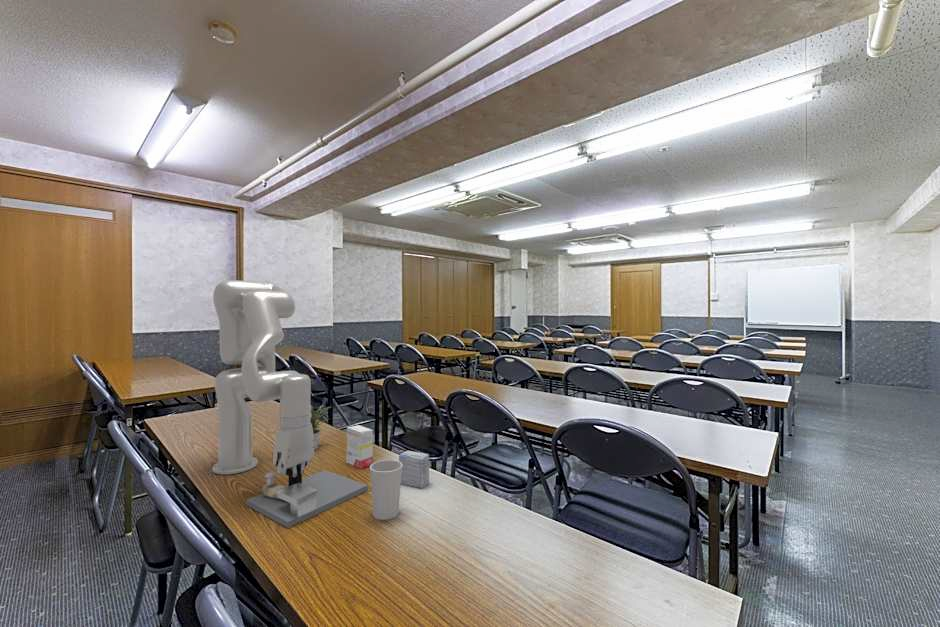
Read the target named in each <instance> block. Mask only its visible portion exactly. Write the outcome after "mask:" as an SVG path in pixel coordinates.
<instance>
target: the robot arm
mask: <svg viewBox="0 0 940 627" xmlns="http://www.w3.org/2000/svg"><path fill="white" fill-rule="evenodd" d="M212 297H213V300H212V301H213V305H214V309H215V312H216V315H217V318H218V325H219V355H220V359H221V361H222V363H224V364H226V365H241V367H239V368H232V369H227V370H223V371H221V372H220V373H218V374H217V375H216V377H215V379H214V390H215V394H216V396H215V397H216V402H217V421H218V422H217V427H218V429H217V433H218V434H217V438H218V439H217V462H216V463H215V464H214V465H213V466H211V467H212V468H211V469H212V473H214V474H215V475H226V476H227V475H234V474H241V473H245V472H246V471H249V470H252V469H254V468H255V467H256V466H257V465H258V463H259V462H258V461H259V460H258V459H257V458H256V457H254V456H253V409H252V407H251V405H250V404H249V403H247V402H246V400H245V398H249V399H250V400H251V401H252V402H254V403H263V402H270V401H275V400H279V428H277V430H276V433H275V438H274V444H273V454H272V455H273V456H272V459H273V460H272V465H273V466H274V467H277V468H276V474H278V475H286V476H288V484H289V486H292V485H294V484H297V483H302V479H303V474H304V472H305V469H306V467H307V465H308V464H309V463H311V462H312V461H313V457H314V454H315V450H314V434H313V428H312V424H311V423H310V417H312V413H310V412H311V406H312V404H311V395H312V394H311V390H312V389H311V386H312V385H311V383H312V382H311V378H310V376H309V375H307V374H304V373H299V372H298V371H296V370H280V371H276V347H275V346H277V345H278V344H279V343H281V342H282V341H283V339H284V338H285V337H284V336H285V335H284V330H283V327H282V323H281V321H280V319H289V318H291V317H292V316H293V315H294V313H295V311H296V310H295V309H296V304H295V300H294V298H293V295H291V294H290V292H289V291H287V290H286V289H284V288H282V287H280V286H279V285H277V284H275V283H273V282H267V281H253V280H237V279H235V280H233V279H232V280H225V281H224V280H223V281H220V282H219V283H218V284H216V285H215V287H214V291H213V296H212Z"/></svg>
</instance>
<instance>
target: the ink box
mask: <svg viewBox="0 0 940 627" xmlns="http://www.w3.org/2000/svg"><path fill="white" fill-rule="evenodd" d="M373 442H374V430H373V429H371V428H368V427H365V426H363V425H359V424H358V425H353V426H347V427H346V455H345V456H346V459H345V460H346V461H345V462H346V463H347V464H348V463H349V465H350V466H354V467H357V468H358V469H364V468H367V467H370V465H371V464H373V463H374V462H373V460H374V459H373V458H374V457H373V454H374V450H373V449H374V448H373V447H374V443H373Z"/></svg>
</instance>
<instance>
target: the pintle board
mask: <svg viewBox="0 0 940 627" xmlns="http://www.w3.org/2000/svg"><path fill="white" fill-rule="evenodd" d="M275 477H276V472H272V471H271V472H268V473H265V475H264V478H265V479H266V484H267V486H271V485H273V484H274V483H275V482H274V481H275V480H274V478H275ZM302 484H304V485H306V486H309V487H311V488H313V489H316V490H318V497H316V509H315V510H313V511H311V512H308V513H306V514H304V515H302V516H300V517H296V516H294V515H292V514H291V503H289V502H287V501H284V500H281V499H277V498H273V497H269V496H263V493H260V494H258V495H255V496H252V497H249V498H247V499H245V505H247V506H246V507H248V506H249V507H248V508H250V507H251V508H250V509H252V508H253V509H254V511H255V510H256V511H255V512H257V511H258V512H257V513H259V512H260V513H259V514H261V515H263V516H264V515H265V517H266V518H268V519H270V520H272V521H274V522H276V523H277V524H280V525H281V526H283V527H285V528H287V529H290V528H291V526H292V527H294V526H296V525H298V524H301V523H302V522H304V520H305V521H306V519H307V520H308V519H311V518H313V517H316V516H317V515H319V514H321V513H324V512H326V511H328V510H330V509H332V508H334V507H336V506H338V505H341V504H343V503H345V502H347V501H349V500H351V499H354V498H355V497H357V496H359V494H360V495H362V494H364V493H366V492H368V490H369V485H368V484H366V483H362V482H360V481H357V480H355V479H352V478H349V477H346V476H343V475H340V474H338V473H335V472H334V471H333V472H332V471H330V470H327V469H324V470H322V471H319V472H316V473H314V474H311V475H308V476H305V477H304V478H303V477H302ZM283 486H288V487H289V483H287V484H285V485H284V484H283ZM363 492H364V493H363ZM361 493H362V494H361ZM253 509H252V510H253ZM301 521H302V522H301ZM297 523H298V524H297ZM295 524H296V525H295ZM293 525H294V526H293ZM289 527H290V528H289Z"/></svg>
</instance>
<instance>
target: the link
mask: <svg viewBox="0 0 940 627" xmlns="http://www.w3.org/2000/svg"><path fill="white" fill-rule="evenodd" d="M286 487H288V486H284V484H283V485H282V484H278V483H276V482H274V484H273V485H271V486H267V483H265V484H263V485H262V494H263V496H269V497H273V498H277V499H280V498H278V497H277V491H279V490H281V489H284V488H286ZM281 500H282V499H281Z"/></svg>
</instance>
